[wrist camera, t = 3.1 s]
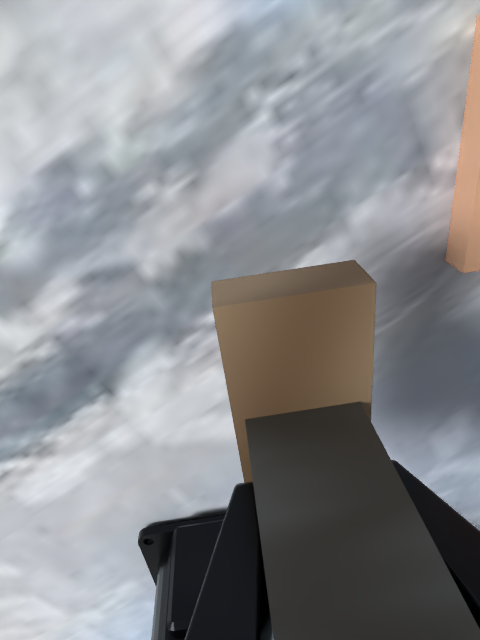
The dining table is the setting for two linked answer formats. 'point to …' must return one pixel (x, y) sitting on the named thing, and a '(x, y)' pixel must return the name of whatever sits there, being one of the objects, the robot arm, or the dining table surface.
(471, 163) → the tile
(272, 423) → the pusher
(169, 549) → the robot arm
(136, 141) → the dining table surface
